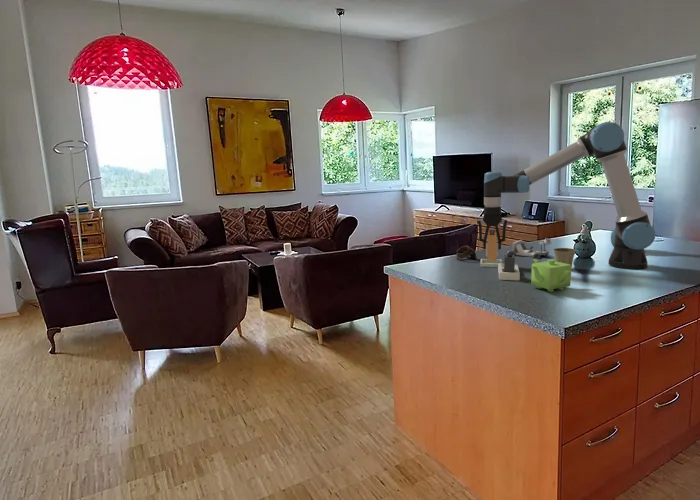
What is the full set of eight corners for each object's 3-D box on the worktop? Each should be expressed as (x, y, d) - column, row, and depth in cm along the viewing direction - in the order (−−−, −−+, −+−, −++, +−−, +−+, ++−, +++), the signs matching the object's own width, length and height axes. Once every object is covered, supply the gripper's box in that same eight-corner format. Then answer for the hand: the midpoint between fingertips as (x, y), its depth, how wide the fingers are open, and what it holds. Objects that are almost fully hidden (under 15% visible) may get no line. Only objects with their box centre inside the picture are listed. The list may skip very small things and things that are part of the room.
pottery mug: (480, 262, 231) (473, 249, 228) (462, 271, 233) (455, 257, 230) (475, 252, 242) (468, 239, 239) (458, 259, 244) (451, 247, 241)
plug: (496, 258, 223) (496, 229, 221) (496, 260, 218) (496, 230, 216) (487, 258, 224) (487, 229, 222) (487, 260, 220) (487, 230, 217)
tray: (501, 263, 226) (501, 259, 225) (502, 268, 216) (502, 264, 215) (480, 262, 228) (480, 258, 228) (480, 267, 218) (480, 263, 218)
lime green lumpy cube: (529, 292, 177) (530, 263, 175) (528, 283, 191) (529, 255, 188) (573, 294, 172) (575, 264, 170) (569, 285, 186) (571, 257, 184)
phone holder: (554, 237, 238) (545, 240, 229) (553, 256, 239) (544, 260, 231) (519, 234, 250) (509, 237, 241) (518, 252, 251) (509, 256, 243)
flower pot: (548, 269, 212) (549, 250, 210) (556, 265, 218) (557, 247, 217) (570, 272, 205) (571, 252, 204) (578, 268, 212) (579, 249, 210)
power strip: (516, 270, 212) (517, 246, 209) (519, 280, 195) (520, 254, 192) (498, 269, 214) (498, 245, 212) (499, 279, 197) (499, 253, 195)
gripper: (511, 205, 218) (510, 254, 222) (473, 205, 223) (473, 254, 227) (512, 206, 211) (511, 258, 215) (472, 207, 216) (472, 257, 220)
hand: (491, 256), depth 221 cm, fingers closed on plug, 4 cm apart
